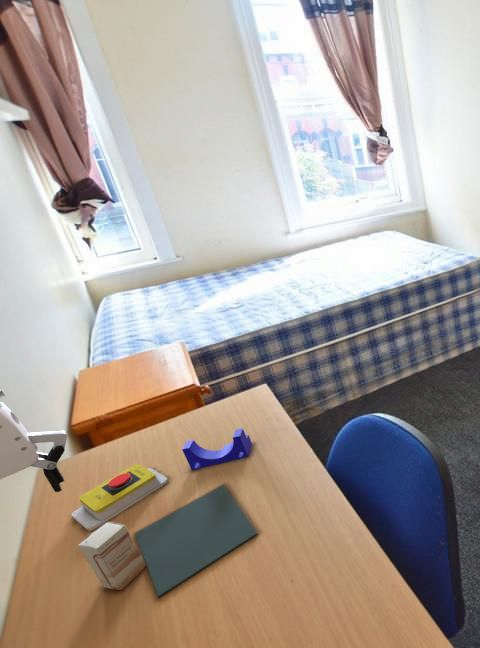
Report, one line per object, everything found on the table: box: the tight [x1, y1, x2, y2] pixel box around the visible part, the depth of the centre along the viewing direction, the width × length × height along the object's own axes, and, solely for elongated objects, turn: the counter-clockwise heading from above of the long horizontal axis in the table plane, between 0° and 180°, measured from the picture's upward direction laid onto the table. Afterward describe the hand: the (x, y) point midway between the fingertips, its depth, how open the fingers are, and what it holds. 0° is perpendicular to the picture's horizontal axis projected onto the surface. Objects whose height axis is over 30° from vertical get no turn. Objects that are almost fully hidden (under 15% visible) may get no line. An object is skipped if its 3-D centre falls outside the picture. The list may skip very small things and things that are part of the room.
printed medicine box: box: [77, 521, 147, 591], centre depth 80 cm, size 5×4×10 cm
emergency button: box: [71, 463, 169, 532], centre depth 100 cm, size 9×4×15 cm
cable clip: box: [181, 428, 253, 471], centre depth 109 cm, size 12×4×6 cm, turn 105°
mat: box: [134, 484, 258, 598], centre depth 89 cm, size 16×20×1 cm
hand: (15, 507), depth 70 cm, fingers open, 9 cm apart
